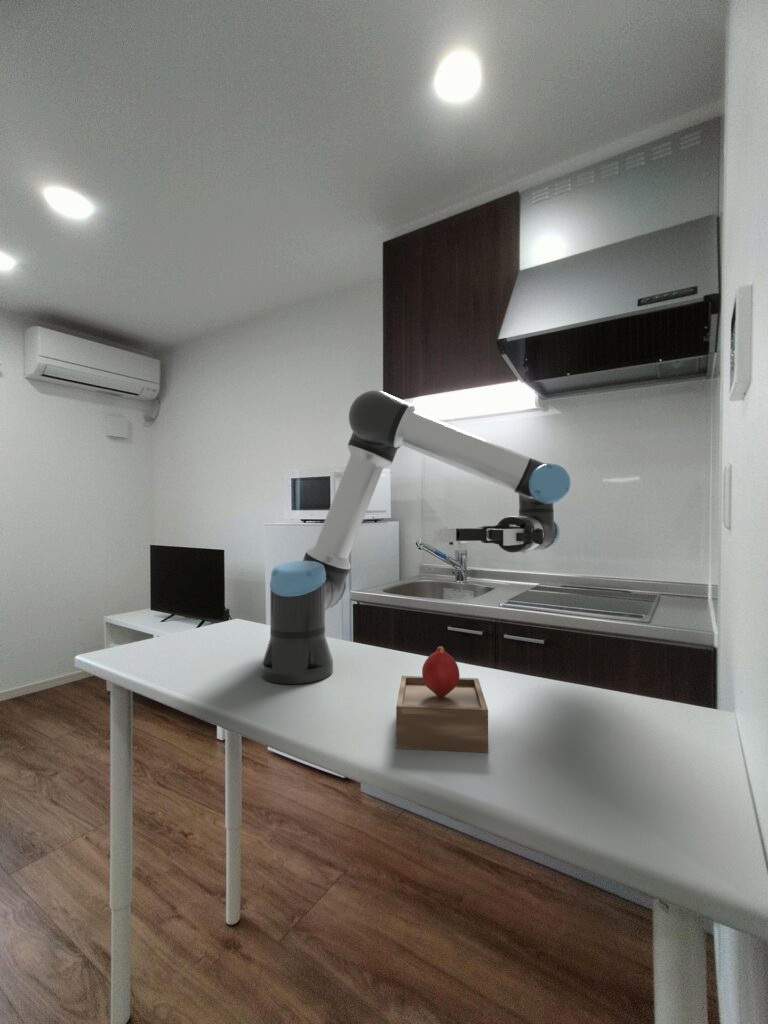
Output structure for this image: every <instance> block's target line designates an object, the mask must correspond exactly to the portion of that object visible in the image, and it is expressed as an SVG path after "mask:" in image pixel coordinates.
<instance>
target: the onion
mask: <svg viewBox="0 0 768 1024" xmlns="http://www.w3.org/2000/svg"><path fill="white" fill-rule="evenodd" d="M421 669H422V671H421V672H422V673H421V675H422V676H423V680H424V683H425V685H426V686H427V687H428V688H429V689H430V690H431V691H432V692H433V693H435V694H436V696H437V697H439V698H443V697H445V696H446V695H447V694H448V693H450V692H451V691H452V690H453V689H454V688H455V687H456V685H457V684H458V682H459V678H461V676H460V669H459V666H458V663H457V662H456V660H455V659H454V657H453V656H452V655H450V654H449V653H448V652H447V651H446V650H445V647H443V646H438V647H437V648H436V650H435V652H433V653H431V654H430V655H429V656H428V657H427V658H426V660H425V661H424V663H423V665H422V668H421Z"/></svg>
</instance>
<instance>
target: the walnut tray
mask: <svg viewBox="0 0 768 1024" xmlns="http://www.w3.org/2000/svg"><path fill="white" fill-rule="evenodd" d="M399 684H400V685H399V689H398V694H397V695H398V696H397V699H396V708H395V709H396V711H395V712H396V713H395V714H396V715H395V719H396V721H395V722H396V724H395V725H396V726H395V729H396V732H395V733H396V734H395V735H396V736H395V737H396V745H395V746H396V747H395V748H396V749H401V748H411V749H410V750H421V749H422V750H425V751H441V752H442V751H443V752H461V753H462V752H463V753H465V752H466V753H482V754H483V753H486V754H488V753H489V709H488V705H487V703H486V698H485V696H484V692H483V690H482V685H481V682H480V680H479V678H478V677H459V682H458V684H457V685H456V687H455V688H454V689H453V690H452V691H451V692H450V693H448V694H447V695H446V696H445V697H443V698H439V697H437V696H436V694H435V693H433V692H432V691H431V690H430V689H429V688H428V687H427V686H426V685H425V683H424V680H423V676H420V675H417V676H416V675H401V678H400V683H399Z"/></svg>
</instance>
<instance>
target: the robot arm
mask: <svg viewBox="0 0 768 1024" xmlns="http://www.w3.org/2000/svg"><path fill="white" fill-rule="evenodd" d="M348 421H349V422H348V423H349V426H350V429H351V431H352V433H351V436H350V439H349V441H348V443H347V449H348V450H349V453H350V454H349V458H348V461H347V463H346V466H345V469H344V472H343V473H342V476H341V479H340V480H339V481H340V482H339V484H338V487H337V489H336V492H335V494H334V497H333V499H332V502H331V504H330V507H329V509H328V512H327V514H326V517H325V519H324V523H323V524H322V527H321V530H320V532H319V535H318V538H317V539H316V543H315V545H314V546H312V547H310V548H308V549H307V550H306V551H305V554H304V556H303V558H302V560H295V561H290V562H283V563H280V564H278V565H275V567H274V568H273V569H272V571H271V573H270V580H269V581H270V582H269V590H270V591H269V592H270V595H269V596H270V601H269V602H270V607H269V608H270V610H269V611H270V613H269V614H270V617H269V618H270V619H269V621H270V625H269V626H270V632H269V633H270V634H269V635H270V637H269V638H270V639H269V641H268V644H267V648H266V649H265V653H264V656H263V660H262V663H261V677H262V678H263V679H264V680H265V681H267V682H269V683H270V682H271V683H274V684H280V685H299V684H308V683H309V684H310V683H314V682H319V681H322V680H323V679H326V678H329V677H330V676H331V675H332V674H333V672H334V660H333V656H332V654H331V650H330V647H329V643H328V640H327V637H326V611H328V610H329V609H331V608H333V607H334V606H335V605H337V604H338V603H339V602H340V601H341V600H342V598H343V596H344V594H345V592H346V589H347V578H348V575H349V573H350V570H351V567H352V566H351V563H350V562H349V557H350V556H349V555H350V554H351V551H352V548H353V546H354V544H355V541H356V538H357V536H358V533H359V531H360V529H361V525H362V523H363V520H364V518H365V516H366V513H367V510H368V509H369V506H370V503H371V500H372V497H374V496H373V495H374V492H375V491H376V489H377V484H378V483H379V480H380V478H381V475H382V472H383V470H384V468H385V467H388V466H390V465H392V464H393V462H394V460H395V457H396V455H397V451H398V450H399V449H400V448H401V447H402V446H404V447H405V448H408V449H411V450H413V451H415V452H418V453H419V454H422V455H425V456H427V457H430V458H433V459H434V460H437V461H439V462H441V463H445V464H447V465H449V466H452V467H454V468H456V469H459V470H461V471H464V472H466V473H468V474H471V475H473V476H476V477H478V478H481V479H483V480H486V481H488V482H490V483H493V484H495V485H498V486H500V487H502V488H505V489H507V490H510V491H512V492H514V493H516V494H518V507H519V509H518V515H509V516H506V517H504V518H502V519H501V520H500V521H499V522H498V523H497V524H493V525H482V526H481V527H466V528H465V527H462V528H461V527H460V528H459V527H458V528H457V527H442V528H440V527H438V528H437V527H436V528H435V527H434V544H444V543H445V544H446V543H448V544H449V545H450V546H451V545H452V546H453V545H454V543H457V542H472V541H474V542H475V541H476V542H477V541H478V542H481V543H482V544H494V545H498V546H499V547H500V548H501V549H502V551H505V552H507V553H521V554H523V555H524V554H525V555H526V554H527V551H528V552H529V551H538V550H546V549H548V548H550V547H552V546H554V545H555V544H556V543H557V542H558V540H559V538H560V533H561V531H560V527H559V524H558V523H557V522H556V521H555V517H554V515H555V514H554V510H555V509H554V504H555V503H557V502H559V501H561V500H562V499H563V498H564V497H565V496H567V495H568V493H569V491H570V487H571V477H570V474H569V472H568V471H567V470H566V469H565V468H564V467H563V466H561V465H559V464H556V463H548V462H542V461H539V460H537V459H534V458H531V457H530V456H527V455H524V454H522V453H521V452H517V451H515V450H512V449H510V448H508V447H505V446H502V445H500V444H498V443H494V442H493V441H490V440H488V439H485V438H482V437H480V436H477V435H475V434H473V433H470V432H467V431H465V430H462V429H460V428H458V427H455V426H453V425H451V424H449V423H445V422H443V421H442V420H441V421H440V420H438V419H436V418H434V417H431V416H430V415H425V414H423V413H421V412H419V411H417V410H416V407H415V406H414V404H413V403H410V402H407V401H405V400H404V399H403V400H402V399H401V398H399V397H396V396H393V395H391V394H389V393H388V392H385V391H381V390H369V391H365V392H363V393H361V394H360V395H358V396H357V397H356V398H355V399H354V401H353V402H352V404H351V405H350V409H349V410H348Z"/></svg>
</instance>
